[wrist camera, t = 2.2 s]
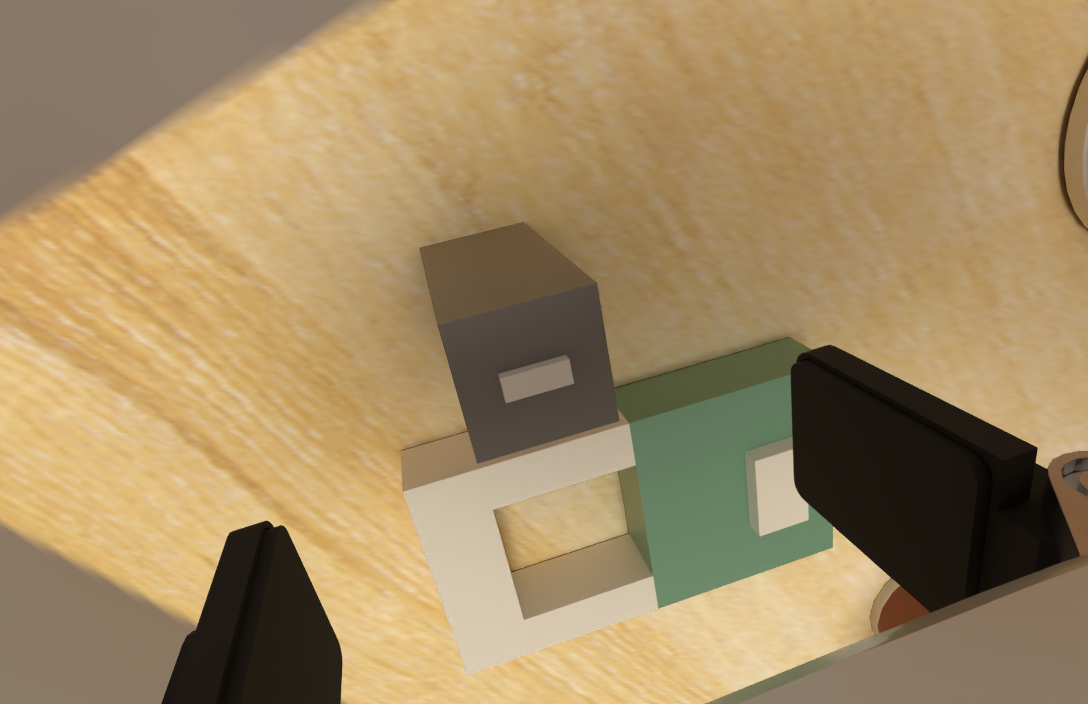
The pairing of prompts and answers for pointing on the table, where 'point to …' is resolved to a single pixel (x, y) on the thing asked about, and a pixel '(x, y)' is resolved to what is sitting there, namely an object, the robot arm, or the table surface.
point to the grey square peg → (520, 339)
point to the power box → (649, 500)
